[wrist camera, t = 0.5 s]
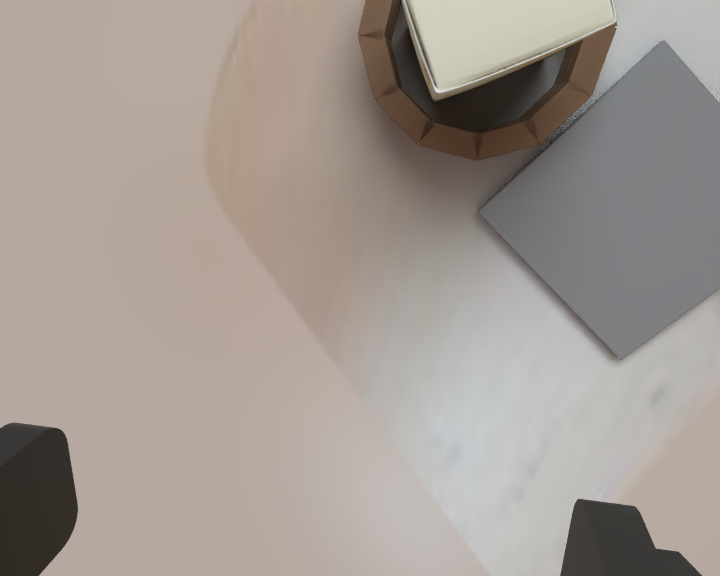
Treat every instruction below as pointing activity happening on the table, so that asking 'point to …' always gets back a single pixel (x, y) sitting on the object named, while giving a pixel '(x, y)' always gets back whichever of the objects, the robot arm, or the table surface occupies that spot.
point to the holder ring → (493, 141)
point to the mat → (625, 204)
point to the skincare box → (495, 36)
